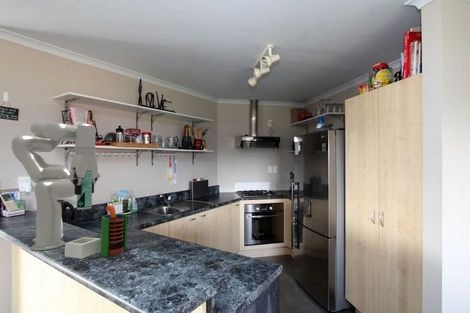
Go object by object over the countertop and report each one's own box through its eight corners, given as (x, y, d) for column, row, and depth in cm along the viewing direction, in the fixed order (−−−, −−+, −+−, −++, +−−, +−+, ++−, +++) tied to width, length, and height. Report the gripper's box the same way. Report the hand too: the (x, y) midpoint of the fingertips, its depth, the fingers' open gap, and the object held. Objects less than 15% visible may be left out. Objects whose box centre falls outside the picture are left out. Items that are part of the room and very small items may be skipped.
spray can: (85, 207, 109) (86, 162, 110) (94, 207, 107) (95, 162, 108) (73, 209, 104) (74, 162, 105) (82, 209, 102) (83, 162, 103)
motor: (113, 257, 100) (114, 208, 101) (95, 255, 102) (95, 207, 103) (129, 249, 110) (129, 204, 111) (111, 248, 112) (112, 204, 113)
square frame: (64, 256, 102) (64, 243, 102) (84, 249, 111) (84, 237, 111) (81, 258, 99) (82, 244, 99) (100, 251, 108) (101, 238, 108)
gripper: (95, 153, 116) (94, 191, 115) (59, 151, 100) (58, 195, 99) (107, 153, 114) (107, 192, 113) (73, 150, 98) (72, 196, 97)
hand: (84, 193), depth 106 cm, fingers closed on spray can, 5 cm apart
